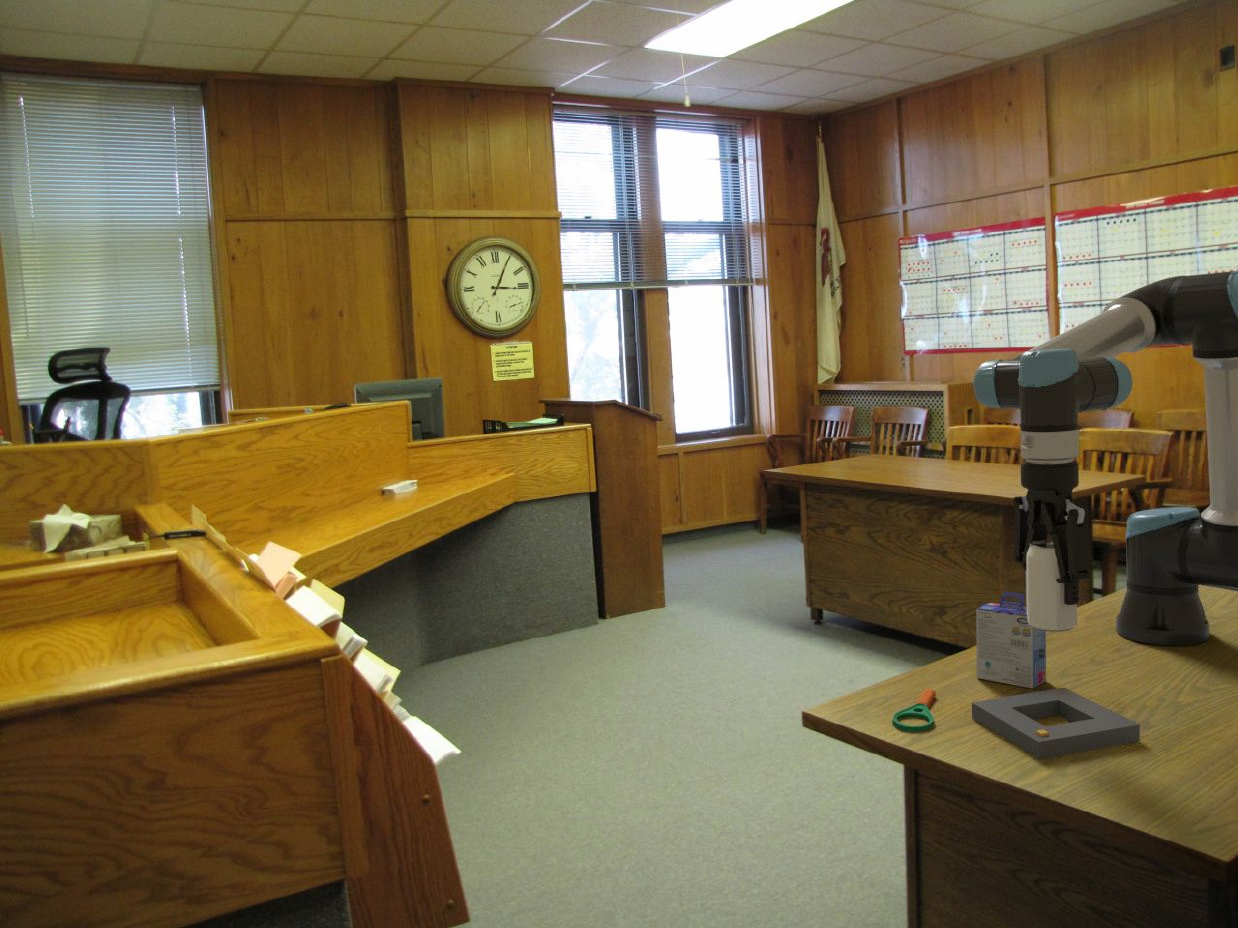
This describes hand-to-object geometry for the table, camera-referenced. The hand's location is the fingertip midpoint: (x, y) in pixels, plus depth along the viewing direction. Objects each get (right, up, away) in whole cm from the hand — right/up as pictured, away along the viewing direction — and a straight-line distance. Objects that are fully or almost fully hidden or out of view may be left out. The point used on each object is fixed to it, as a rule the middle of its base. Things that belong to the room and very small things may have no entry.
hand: (1051, 619), depth 145 cm
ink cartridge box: (+3, -14, +23) cm, 27 cm away
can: (0, -1, 0) cm, 1 cm away
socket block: (+1, -16, +2) cm, 17 cm away
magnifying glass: (-15, -17, +11) cm, 26 cm away
